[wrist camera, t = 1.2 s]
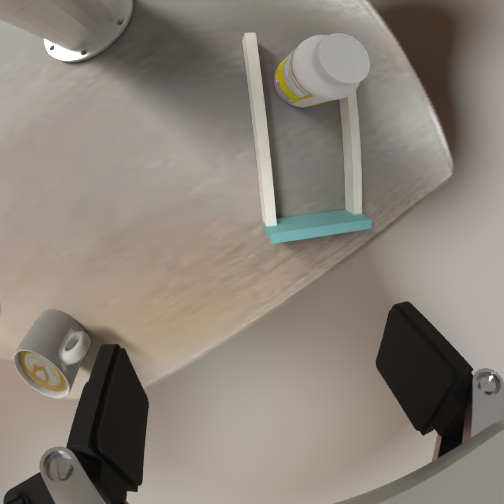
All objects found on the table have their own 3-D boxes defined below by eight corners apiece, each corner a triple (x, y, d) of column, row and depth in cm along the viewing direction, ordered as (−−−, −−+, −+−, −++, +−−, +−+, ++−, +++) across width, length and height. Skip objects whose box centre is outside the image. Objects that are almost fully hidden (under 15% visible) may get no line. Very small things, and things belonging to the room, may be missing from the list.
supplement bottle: (329, 67, 29) (386, 43, 17) (318, 114, 31) (374, 107, 19) (278, 51, 27) (315, 11, 16) (266, 99, 30) (299, 79, 18)
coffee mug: (55, 357, 39) (36, 397, 30) (29, 312, 35) (2, 350, 26) (114, 353, 40) (100, 399, 31) (89, 303, 36) (65, 346, 27)
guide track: (242, 39, 26) (247, 25, 22) (339, 41, 27) (357, 31, 23) (263, 229, 36) (272, 244, 31) (353, 217, 37) (371, 228, 32)
